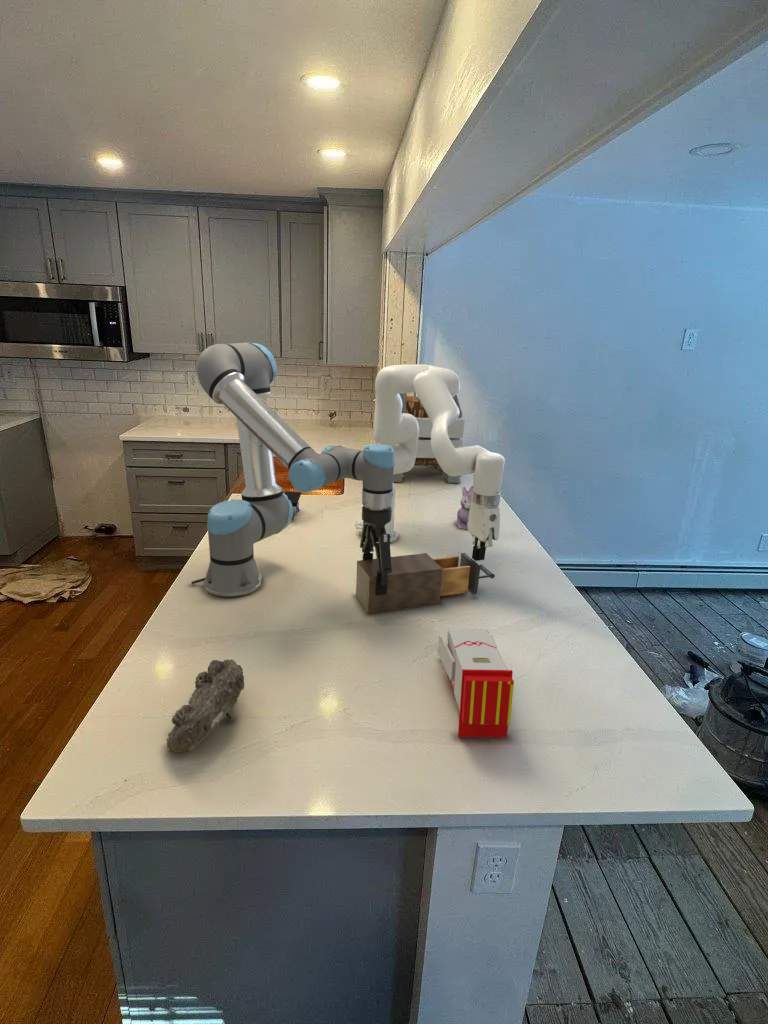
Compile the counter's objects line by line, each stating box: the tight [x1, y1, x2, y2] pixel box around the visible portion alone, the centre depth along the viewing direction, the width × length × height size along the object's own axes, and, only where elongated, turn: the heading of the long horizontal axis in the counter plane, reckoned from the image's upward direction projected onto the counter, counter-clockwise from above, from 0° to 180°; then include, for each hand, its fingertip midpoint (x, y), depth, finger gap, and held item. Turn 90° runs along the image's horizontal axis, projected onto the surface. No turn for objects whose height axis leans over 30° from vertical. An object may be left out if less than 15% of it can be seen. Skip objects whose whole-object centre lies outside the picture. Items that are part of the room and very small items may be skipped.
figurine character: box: [284, 490, 302, 521], centre depth 211 cm, size 7×8×15 cm
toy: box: [437, 628, 515, 738], centre depth 117 cm, size 12×13×30 cm
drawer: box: [432, 552, 496, 597], centre depth 158 cm, size 25×9×9 cm, turn 110°
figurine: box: [455, 485, 473, 530], centre depth 208 cm, size 9×10×15 cm
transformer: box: [387, 393, 465, 484], centre depth 268 cm, size 34×33×41 cm
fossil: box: [166, 658, 245, 754], centre depth 106 cm, size 22×10×15 cm
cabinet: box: [355, 552, 442, 615], centre depth 153 cm, size 20×10×10 cm, turn 110°
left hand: (374, 584), depth 150 cm, fingers closed on cabinet, 10 cm apart
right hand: (478, 559), depth 160 cm, fingers closed
